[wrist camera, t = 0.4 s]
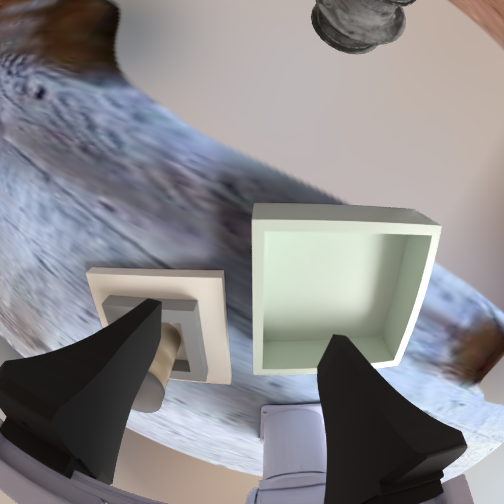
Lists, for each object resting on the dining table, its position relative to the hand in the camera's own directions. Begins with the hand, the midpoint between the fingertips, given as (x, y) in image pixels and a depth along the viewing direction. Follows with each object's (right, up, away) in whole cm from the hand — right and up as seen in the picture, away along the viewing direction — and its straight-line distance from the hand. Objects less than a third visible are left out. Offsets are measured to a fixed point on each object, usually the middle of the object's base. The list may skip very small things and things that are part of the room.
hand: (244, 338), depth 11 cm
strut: (-8, -4, +12) cm, 15 cm away
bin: (+7, +1, +10) cm, 12 cm away
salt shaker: (+7, +20, +3) cm, 21 cm away
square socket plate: (-8, -3, +13) cm, 15 cm away
